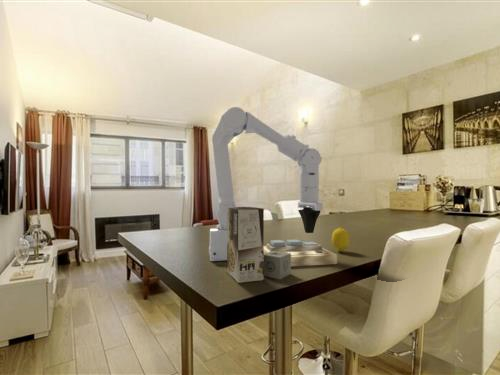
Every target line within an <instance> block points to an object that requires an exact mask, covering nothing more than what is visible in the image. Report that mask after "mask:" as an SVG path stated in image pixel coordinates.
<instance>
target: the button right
mask: <svg viewBox="0 0 500 375" xmlns="http://www.w3.org/2000/svg"><path fill="white" fill-rule="evenodd" d="M301 242H302V244H303V245H305V246H314V245H317V244H318V243H317V242H315V241H301ZM314 242H315V243H314ZM316 243H317V244H316Z"/></svg>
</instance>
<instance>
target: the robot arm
mask: <svg viewBox="0 0 500 375" xmlns="http://www.w3.org/2000/svg"><path fill="white" fill-rule="evenodd" d="M243 132H244V134H247V135H248V134H256V135H258V136H260V137H262V138H263V139H265V140H267V141H269V142H270V143H272V144H274V145H276V146H277V150H278V152H280V153H281V154H282V155H284V156H286V157H288V158H290V160H293V161H294V162H297V164H298V166H299V201H297V208H300V209H298V213H299V215H300V217H301V220H302V224H303V228H304V229H303V230H304V233H306V234H314V231H315V228H316V223H317V220H318V218H319V216H320V214H321V211H323V209H324V208H323V206H324V205H323V202H320V181H319V180H320V179H319V178H320V173H319V168H320V166H319V165H321V162H322V160H323V157H322V156H321V154H320V151H319V150H317V149H316V148H310V145H309V144H307V143H306V144H304V143H303V142H302V141H299V140H298V139H296V138H297V137H296V135H294V134H293V135H290V134H286V135H282V134H281V133H279V132H278V131H276V130H275V129H273V128H272V127H270V126H269V125H267V124H266V123H264V122H263V121H261V120H260V119H259V118H257V117H256V116H255V115H253V114H252V113H250V112H249V111H245V110H244V109H243V108H241V107H239V106H232V107H230V108H228V109H227V110H226V111H225V112H223V114H222V115H221V116H220V120H219V122H218V124H217V127H216V128H215V131H214V132H213V134H212V138H211V141H212V149H213V150H212V151H213V157H214V166H215V176H216V183H217V193H218V209H219V210H218V213H217V216H216V219H217V222H218V224H217V225H216V227H215V228H212V227H211V228H210V229H209V246H208V254H209V261H211V262H216V261H217V262H218V261H219V262H221V261H227V208H235V207H236V204H235V197H234V196H235V195H234V189H233V188H234V187H233V181H232V180H233V179H232V170H231V161H230V153H229V143H231V142H232V141H233V139H234V138H235V137H237V136H239V135H241V134H242V133H243ZM301 208H302V209H301Z"/></svg>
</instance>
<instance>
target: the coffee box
mask: <svg viewBox="0 0 500 375" xmlns="http://www.w3.org/2000/svg"><path fill="white" fill-rule="evenodd" d="M264 210H265V208H261V207H253V206H235V208H227V260H226V264H227V266H226V267H227V268H226V272H227V273H228V274H229V275H230V276H231V277H232V279H234V280H235V281H236V282H237V283H238V284H239V283H249V282H257V281H258V282H259V281H263V280H264V277H265V276H264V246H265V244H264V237H265V236H264V232H265V231H264V229H265V228H264V225H265V222H264V221H265V220H264V218H265V217H264V216H265V215H264V214H265V213H264V212H265V211H264Z"/></svg>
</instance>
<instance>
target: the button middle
mask: <svg viewBox="0 0 500 375" xmlns="http://www.w3.org/2000/svg"><path fill="white" fill-rule="evenodd" d="M302 242H303V241H301V240H299V239H286V240H285V243H286V245H288V246H302Z"/></svg>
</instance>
